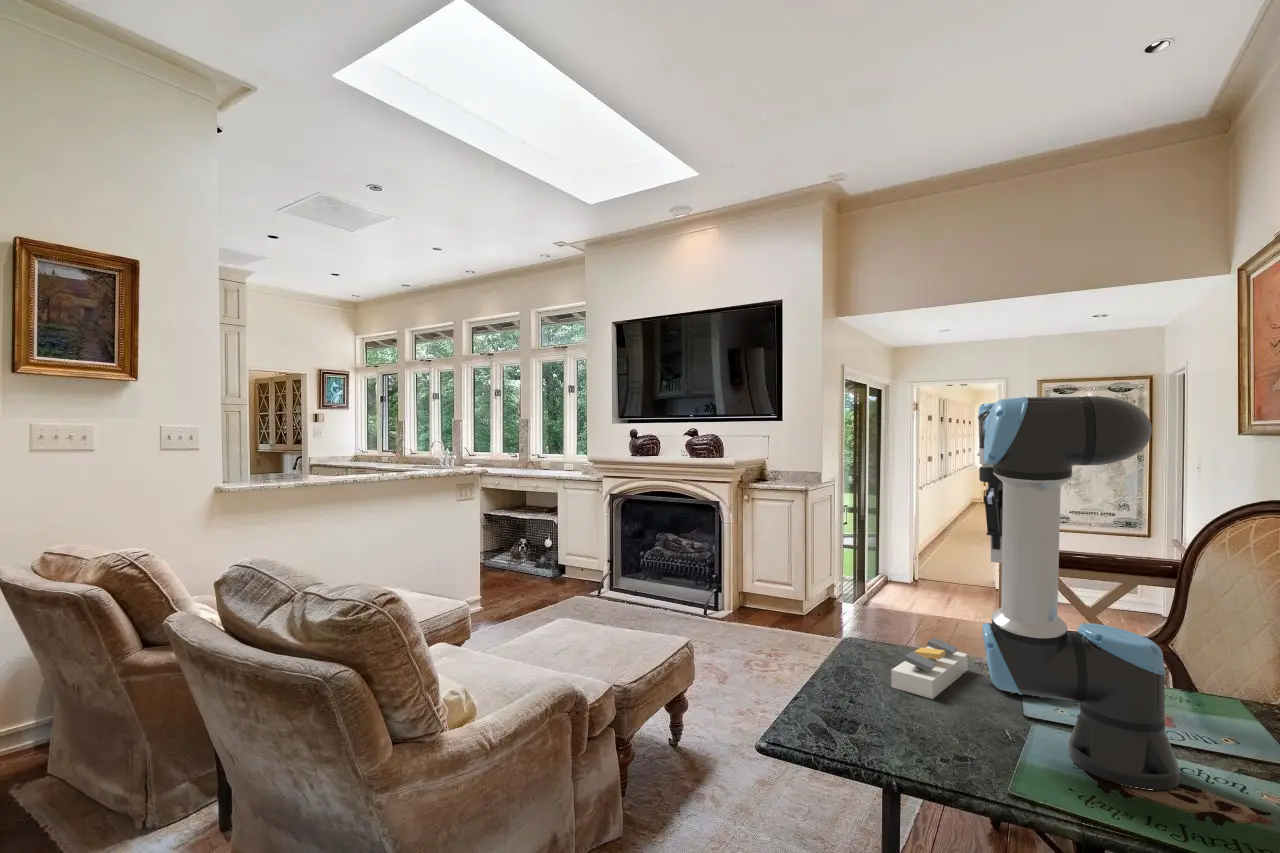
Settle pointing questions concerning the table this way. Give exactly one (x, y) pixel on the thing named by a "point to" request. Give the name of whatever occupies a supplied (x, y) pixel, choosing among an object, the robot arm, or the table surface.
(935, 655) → the amber rocker
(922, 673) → the white rocker switch box
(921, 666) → the block
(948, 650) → the block
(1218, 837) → the table surface
